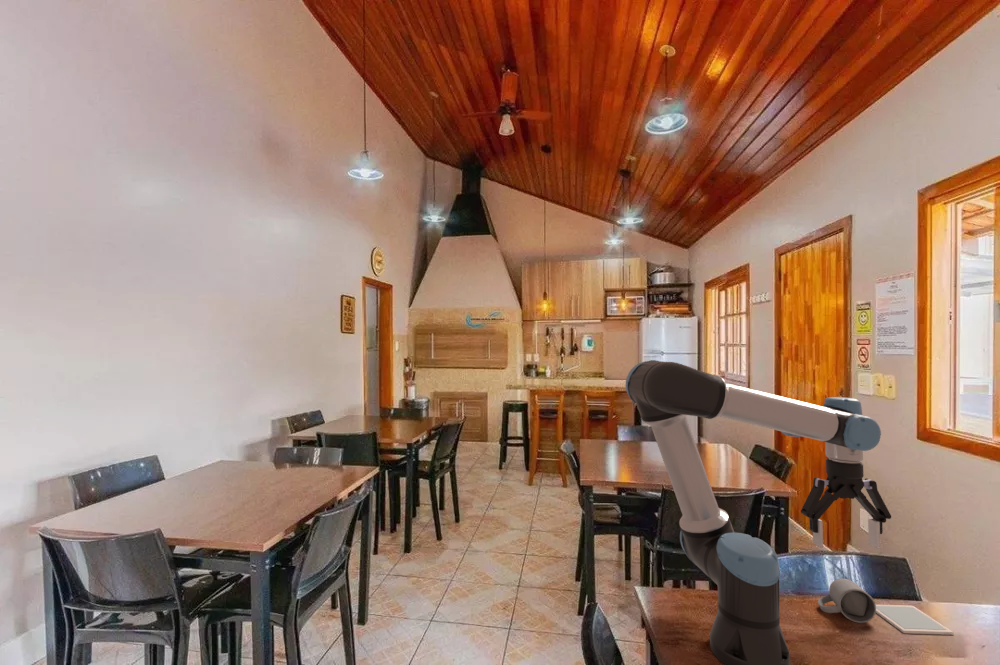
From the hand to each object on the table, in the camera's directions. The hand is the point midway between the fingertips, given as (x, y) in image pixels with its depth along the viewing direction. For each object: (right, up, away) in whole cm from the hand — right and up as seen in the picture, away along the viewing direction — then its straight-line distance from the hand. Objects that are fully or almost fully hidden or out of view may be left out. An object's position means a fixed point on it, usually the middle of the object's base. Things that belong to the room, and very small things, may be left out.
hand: (846, 546), depth 115 cm
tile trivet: (+13, -16, -3) cm, 21 cm away
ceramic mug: (-1, -17, 0) cm, 17 cm away
